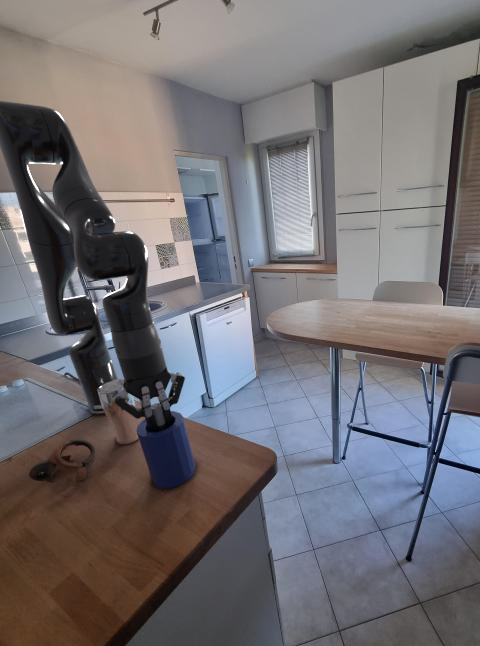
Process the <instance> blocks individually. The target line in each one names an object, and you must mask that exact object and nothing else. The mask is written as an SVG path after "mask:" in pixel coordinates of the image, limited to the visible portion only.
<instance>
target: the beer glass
mask: <svg viewBox="0 0 480 646" xmlns="http://www.w3.org/2000/svg"><path fill="white" fill-rule="evenodd" d="M123 385H124V378H123V379H121V378H120V379H119V378H118V380H113V381H109V382H107V383H104V384H103V385H101V386H100V387H99V388H98V390H97V391H98V394H99V398H100V402H101V405H102V407H103V410H104V412H105V414H104V415H105V416H106V417H107V419H108V420H109V422H110V424H111V425H112V427H113V428H114V431H115V438H116V439H115V440H116V442H117V444H119V445H129V444H131V443H134V442H136V441H139V438H138V435H137V431H136V430H137V427H138V425H139V423H138V419H136V418H135V417H134V416H132V415H131V414H129V413H128V412H127V411H125V410H124V409H122V408H121V407H120V406H118V405H117V404H116V403H115V402H114V400H113V398H112V396H113V395H114V394H118V393H119V392H120V391H122V390H123V389H124V387H123ZM127 396H128V398H129V401H128V402H130V403H131V404H132V405H134V406H135V407H136V402H135V401H136V400H135V397H134V396H133V395H131V394H129V393H128V395H127Z"/></svg>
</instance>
